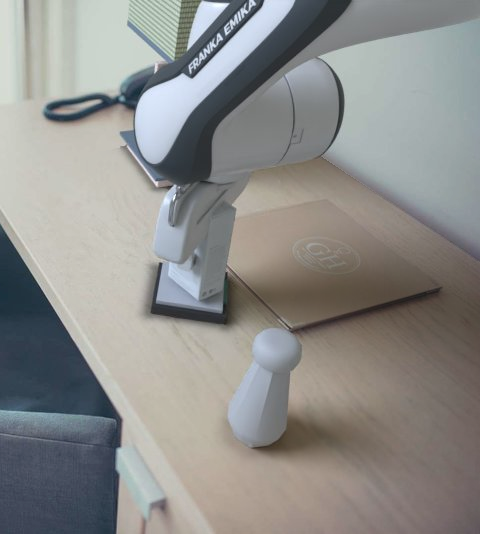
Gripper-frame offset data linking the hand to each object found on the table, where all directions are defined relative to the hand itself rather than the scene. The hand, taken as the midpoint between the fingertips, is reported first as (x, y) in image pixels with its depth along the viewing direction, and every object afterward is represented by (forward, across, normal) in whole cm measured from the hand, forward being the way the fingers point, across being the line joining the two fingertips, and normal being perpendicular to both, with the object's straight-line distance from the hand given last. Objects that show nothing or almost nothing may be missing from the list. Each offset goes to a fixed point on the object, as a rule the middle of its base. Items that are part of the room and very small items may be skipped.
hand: (197, 252), depth 77 cm
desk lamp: (+7, +31, +16) cm, 36 cm away
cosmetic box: (+5, 0, 0) cm, 5 cm away
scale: (+7, 0, 0) cm, 7 cm away
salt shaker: (+7, -16, -14) cm, 22 cm away
